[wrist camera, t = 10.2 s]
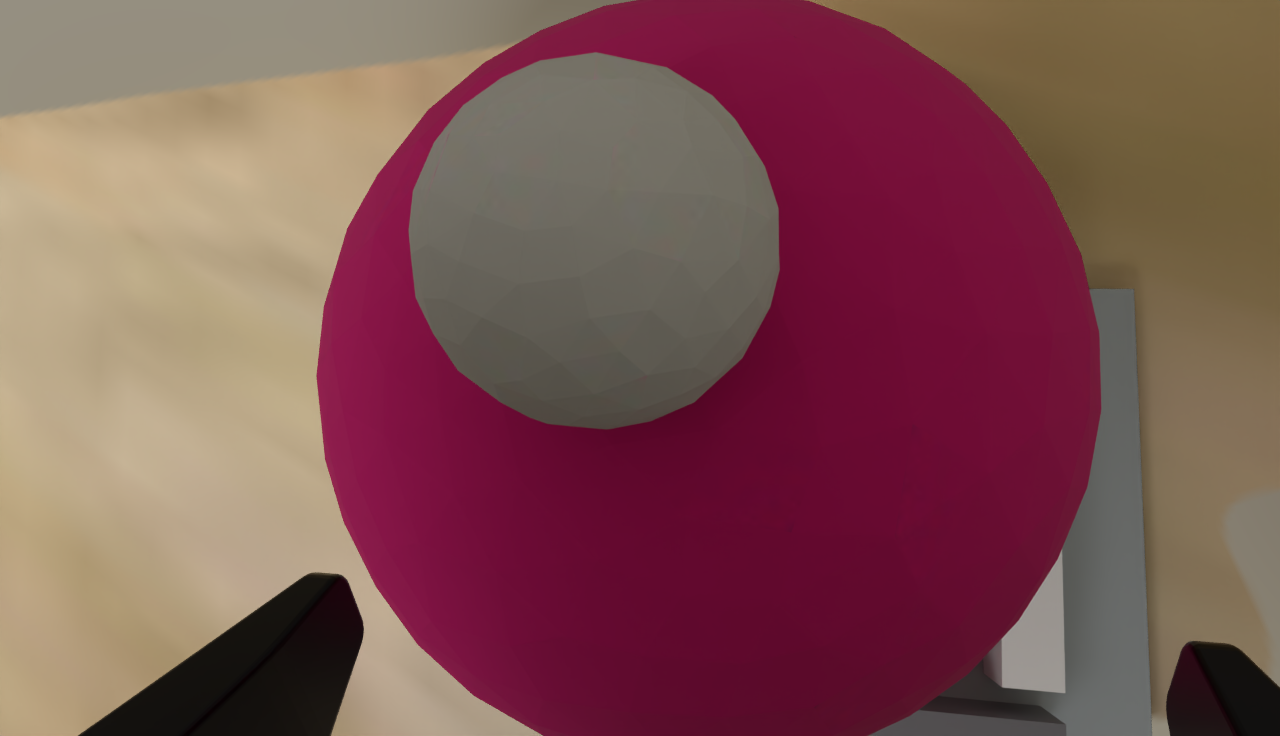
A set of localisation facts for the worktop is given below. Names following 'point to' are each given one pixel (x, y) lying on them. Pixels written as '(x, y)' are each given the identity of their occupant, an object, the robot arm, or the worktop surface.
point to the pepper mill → (709, 375)
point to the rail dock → (1075, 595)
